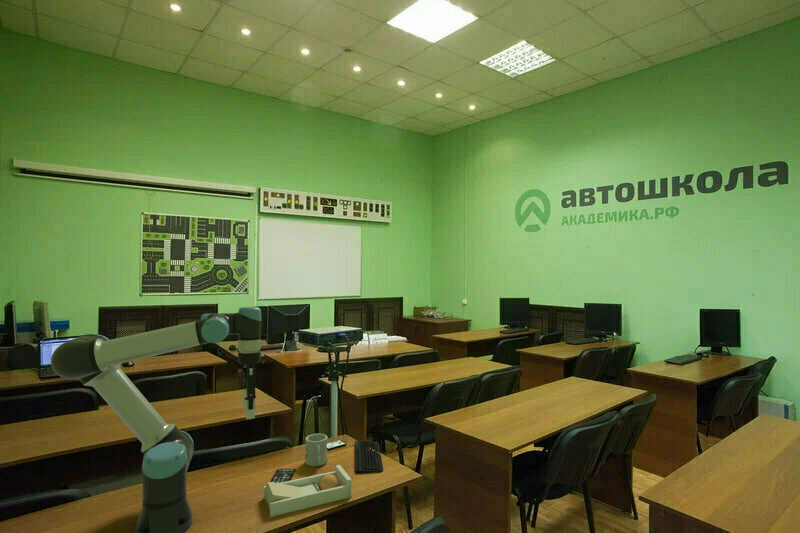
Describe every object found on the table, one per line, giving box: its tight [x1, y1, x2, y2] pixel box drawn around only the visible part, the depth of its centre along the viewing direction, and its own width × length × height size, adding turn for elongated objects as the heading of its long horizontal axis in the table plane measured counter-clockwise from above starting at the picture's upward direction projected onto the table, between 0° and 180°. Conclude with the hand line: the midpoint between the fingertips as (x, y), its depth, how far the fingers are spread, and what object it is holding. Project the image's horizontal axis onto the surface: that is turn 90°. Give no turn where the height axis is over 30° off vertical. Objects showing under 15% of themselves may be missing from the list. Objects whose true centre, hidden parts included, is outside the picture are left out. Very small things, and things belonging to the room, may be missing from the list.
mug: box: [304, 433, 329, 467], centre depth 173 cm, size 12×9×10 cm
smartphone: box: [269, 468, 296, 483], centre depth 161 cm, size 7×1×15 cm
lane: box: [263, 464, 353, 518], centre depth 147 cm, size 27×13×6 cm, turn 117°
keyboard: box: [354, 440, 384, 475], centre depth 180 cm, size 30×11×2 cm, turn 6°
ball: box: [319, 474, 338, 491], centre depth 151 cm, size 6×6×6 cm
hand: (248, 412), depth 150 cm, fingers open, 13 cm apart
